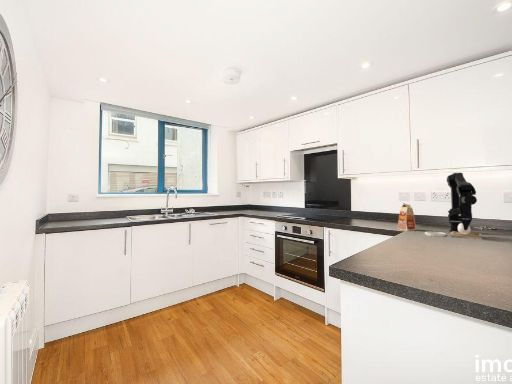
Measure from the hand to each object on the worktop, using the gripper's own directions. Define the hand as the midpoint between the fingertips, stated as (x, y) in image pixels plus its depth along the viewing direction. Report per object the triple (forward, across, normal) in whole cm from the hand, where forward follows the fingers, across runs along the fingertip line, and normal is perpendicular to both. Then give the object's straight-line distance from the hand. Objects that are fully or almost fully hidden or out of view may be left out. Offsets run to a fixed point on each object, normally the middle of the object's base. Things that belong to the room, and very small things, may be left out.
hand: (465, 229), depth 150 cm
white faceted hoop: (+4, +4, -15) cm, 16 cm away
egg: (+4, 0, 0) cm, 4 cm away
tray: (+4, 0, 0) cm, 4 cm away
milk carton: (+5, -13, -34) cm, 37 cm away
